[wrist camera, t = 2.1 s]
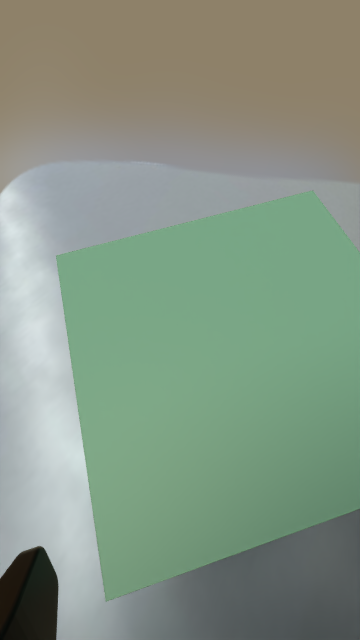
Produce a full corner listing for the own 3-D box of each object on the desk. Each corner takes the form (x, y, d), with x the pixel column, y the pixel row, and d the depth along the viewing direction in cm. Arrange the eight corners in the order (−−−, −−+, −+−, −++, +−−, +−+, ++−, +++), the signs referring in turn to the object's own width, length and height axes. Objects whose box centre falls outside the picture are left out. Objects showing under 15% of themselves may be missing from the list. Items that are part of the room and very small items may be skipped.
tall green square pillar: (281, 497, 15) (511, 453, 4) (176, 534, 15) (105, 602, 4) (240, 395, 18) (312, 190, 6) (149, 423, 17) (55, 255, 6)
